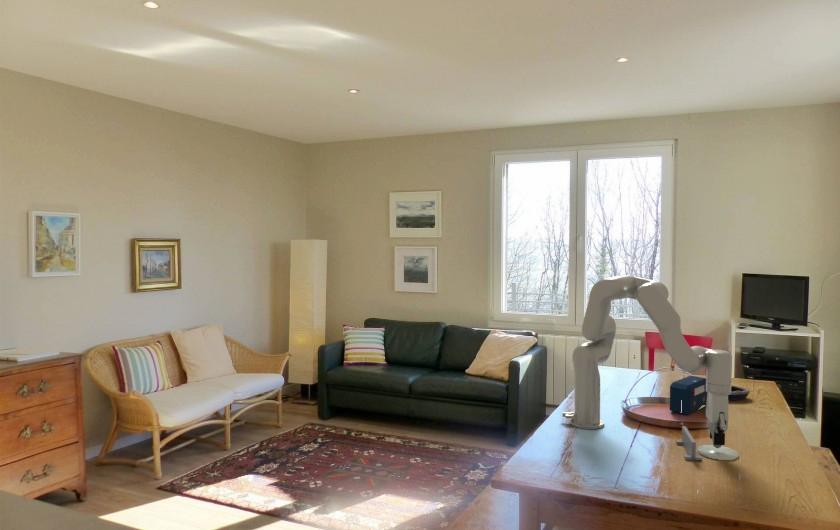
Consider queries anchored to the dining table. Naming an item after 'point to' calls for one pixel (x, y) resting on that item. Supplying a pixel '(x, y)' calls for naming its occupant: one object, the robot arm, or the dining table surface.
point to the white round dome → (717, 452)
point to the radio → (688, 394)
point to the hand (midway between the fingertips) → (717, 441)
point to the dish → (738, 393)
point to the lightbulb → (712, 430)
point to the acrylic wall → (688, 445)
